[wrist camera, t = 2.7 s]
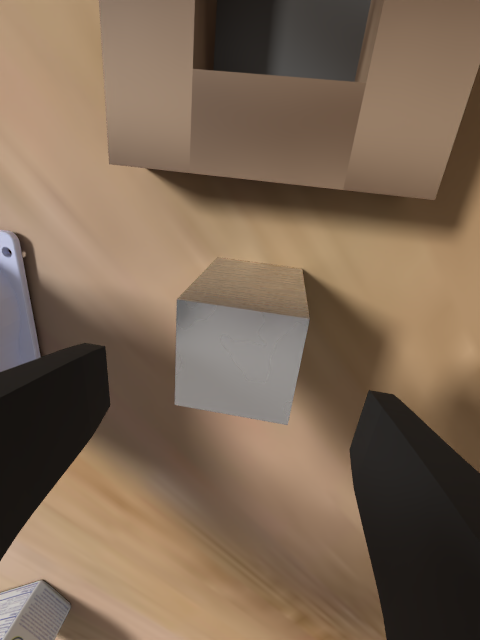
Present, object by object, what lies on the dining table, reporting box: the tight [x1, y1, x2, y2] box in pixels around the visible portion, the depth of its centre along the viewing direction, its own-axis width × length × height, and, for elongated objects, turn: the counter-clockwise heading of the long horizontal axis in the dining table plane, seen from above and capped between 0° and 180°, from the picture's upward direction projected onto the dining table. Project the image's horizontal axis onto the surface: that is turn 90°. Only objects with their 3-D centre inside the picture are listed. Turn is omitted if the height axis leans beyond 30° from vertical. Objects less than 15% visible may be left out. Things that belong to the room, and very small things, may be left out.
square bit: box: [175, 257, 310, 425], centre depth 13 cm, size 4×4×6 cm
